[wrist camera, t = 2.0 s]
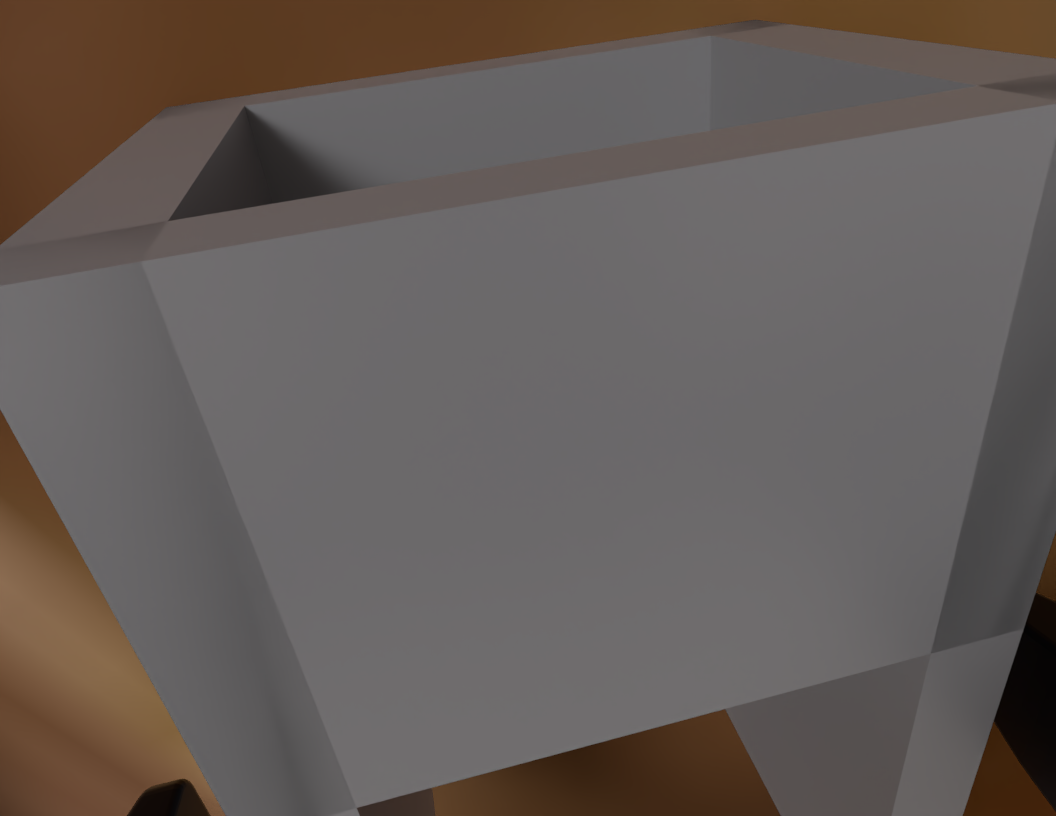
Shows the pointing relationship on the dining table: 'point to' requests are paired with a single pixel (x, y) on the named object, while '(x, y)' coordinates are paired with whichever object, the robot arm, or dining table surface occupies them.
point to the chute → (564, 411)
